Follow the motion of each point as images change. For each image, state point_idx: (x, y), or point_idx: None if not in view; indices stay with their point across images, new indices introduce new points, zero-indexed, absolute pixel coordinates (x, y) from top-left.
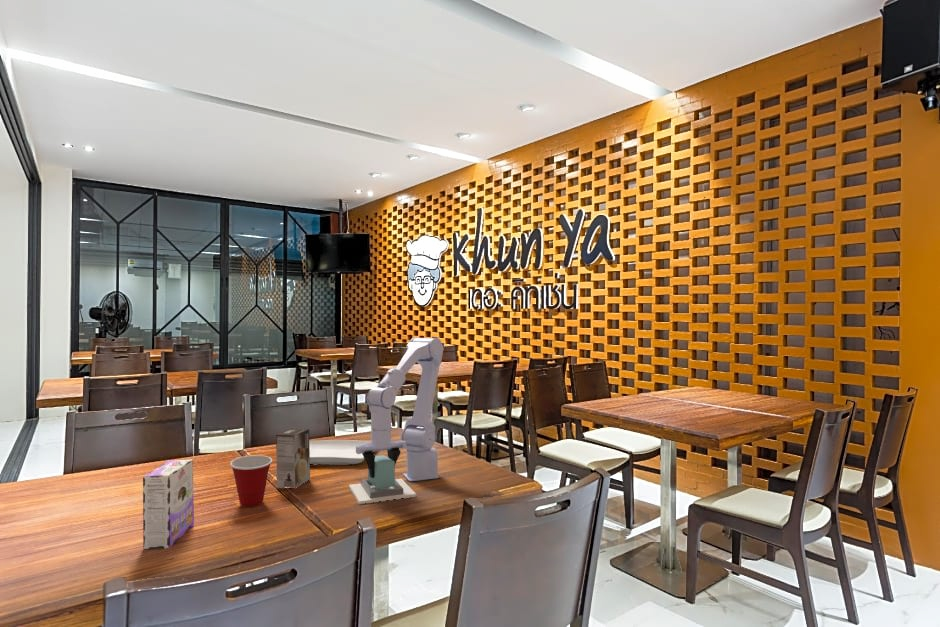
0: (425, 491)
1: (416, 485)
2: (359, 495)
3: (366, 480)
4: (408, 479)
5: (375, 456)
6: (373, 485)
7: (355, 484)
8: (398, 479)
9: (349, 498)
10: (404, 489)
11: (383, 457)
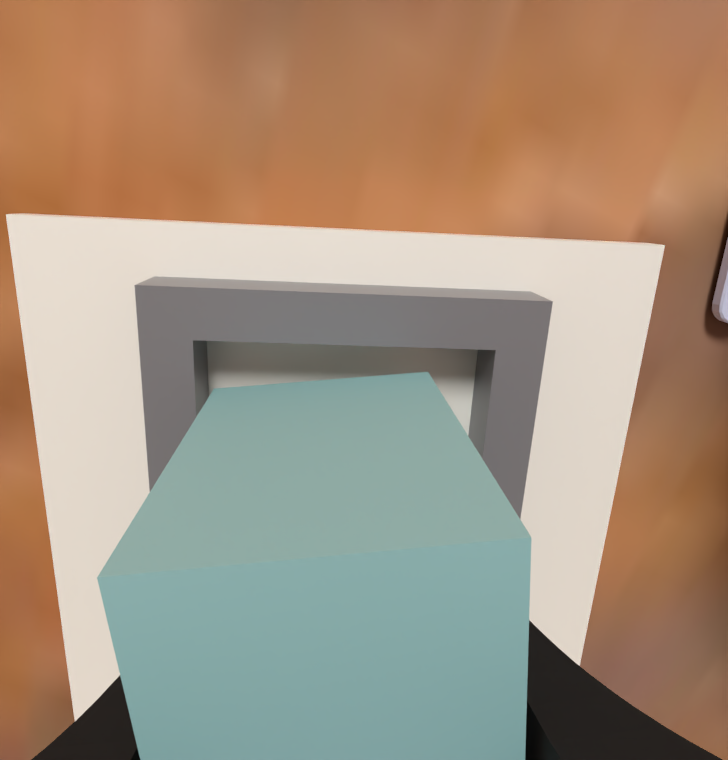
0: (685, 622)
1: (706, 445)
2: (96, 607)
3: (203, 338)
4: (724, 281)
5: (293, 595)
6: (289, 364)
7: (89, 233)
8: (620, 264)
9: (13, 556)
10: (531, 602)
11: (437, 734)
